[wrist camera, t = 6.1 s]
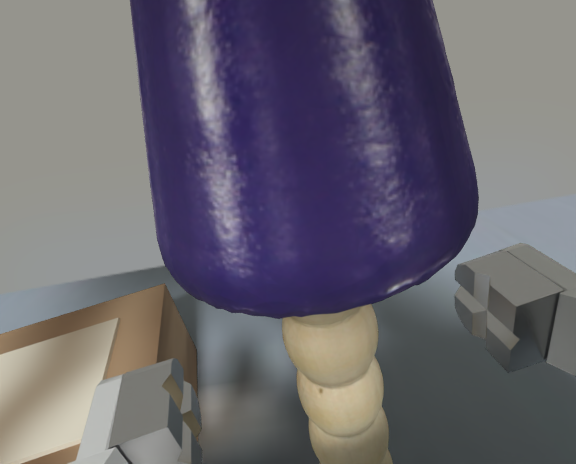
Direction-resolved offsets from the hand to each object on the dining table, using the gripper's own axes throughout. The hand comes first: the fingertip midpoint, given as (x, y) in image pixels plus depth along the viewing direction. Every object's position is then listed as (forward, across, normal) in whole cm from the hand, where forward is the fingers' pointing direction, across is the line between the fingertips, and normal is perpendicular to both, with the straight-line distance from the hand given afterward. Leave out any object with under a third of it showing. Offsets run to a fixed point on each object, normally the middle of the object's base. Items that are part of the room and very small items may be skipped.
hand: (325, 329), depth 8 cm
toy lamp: (-1, 0, +10) cm, 10 cm away
